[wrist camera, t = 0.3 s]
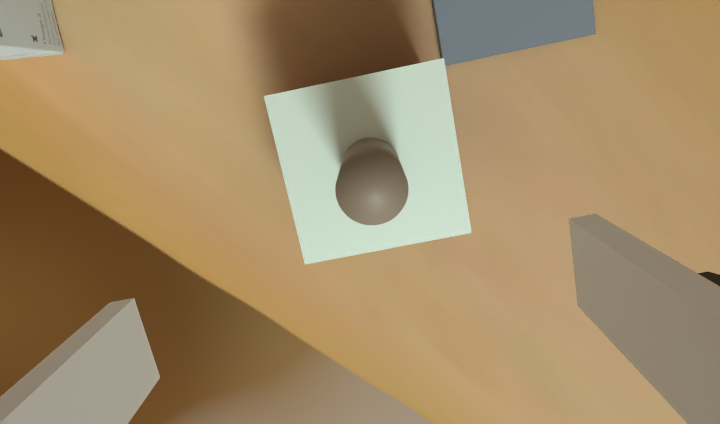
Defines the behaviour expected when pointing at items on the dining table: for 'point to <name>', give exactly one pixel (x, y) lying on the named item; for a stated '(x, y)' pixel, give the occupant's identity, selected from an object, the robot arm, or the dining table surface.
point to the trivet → (507, 25)
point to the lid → (371, 161)
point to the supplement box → (28, 29)
